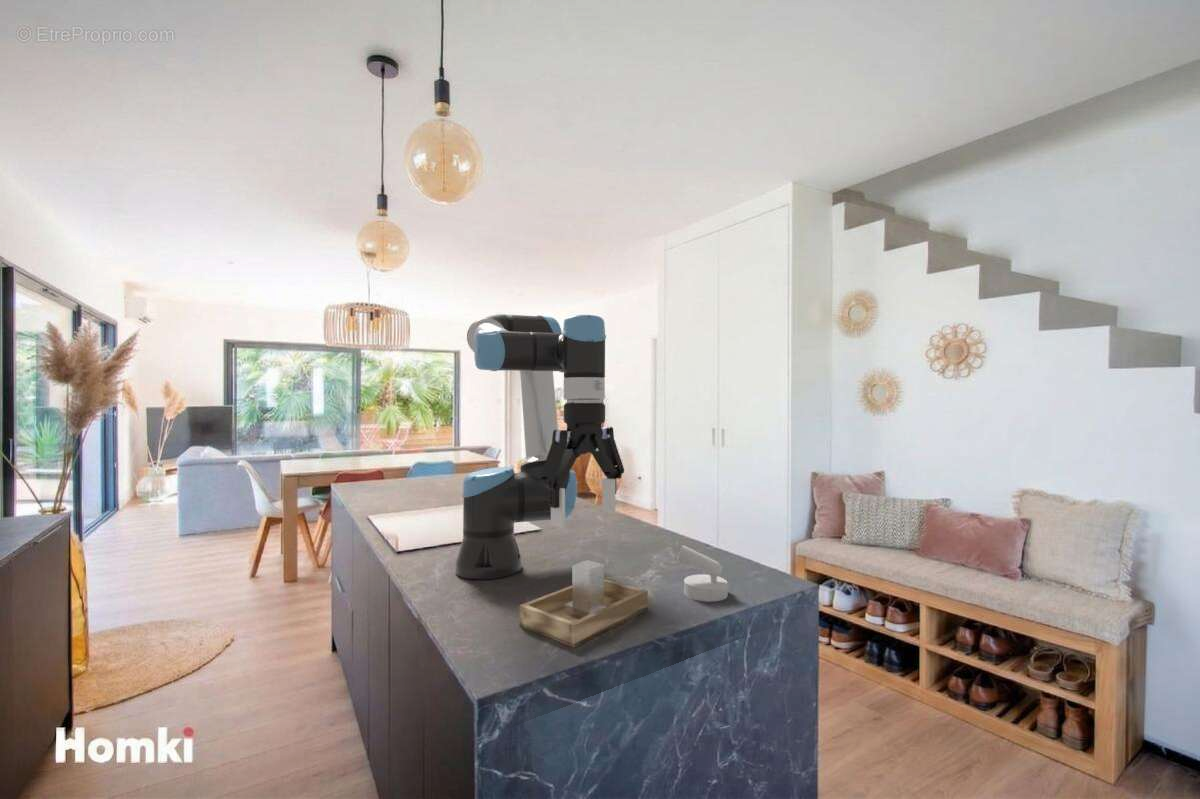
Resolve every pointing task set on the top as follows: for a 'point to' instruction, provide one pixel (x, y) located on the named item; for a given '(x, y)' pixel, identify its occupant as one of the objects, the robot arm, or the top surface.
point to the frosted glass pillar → (586, 589)
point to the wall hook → (703, 577)
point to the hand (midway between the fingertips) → (584, 519)
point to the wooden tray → (573, 631)
